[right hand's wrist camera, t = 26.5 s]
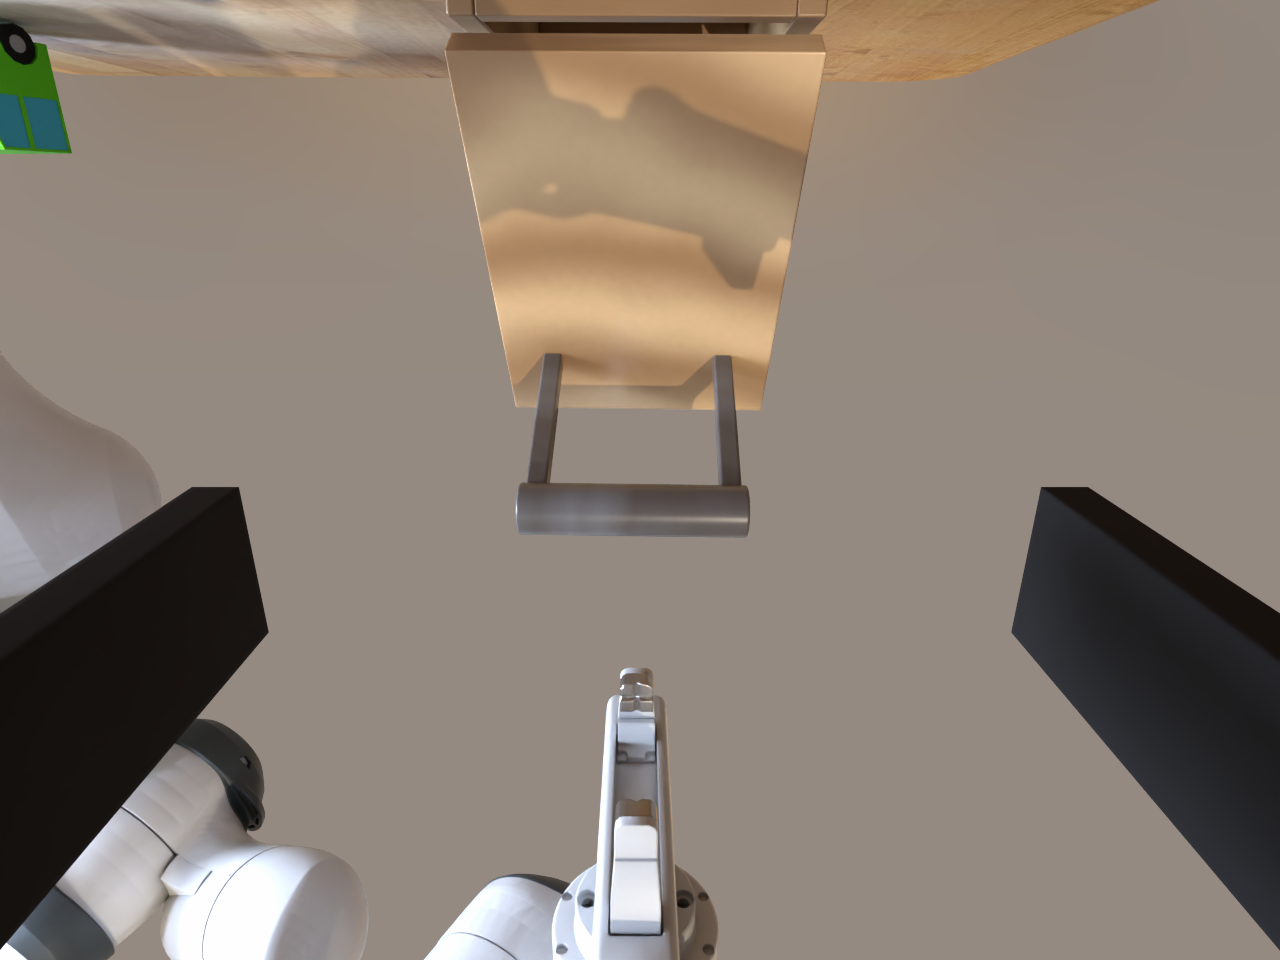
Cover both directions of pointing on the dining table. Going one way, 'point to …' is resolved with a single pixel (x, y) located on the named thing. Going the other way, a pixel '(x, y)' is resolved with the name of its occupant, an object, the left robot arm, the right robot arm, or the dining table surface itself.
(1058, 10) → the dining table surface
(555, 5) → the chest
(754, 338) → the lid
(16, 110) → the toy car
